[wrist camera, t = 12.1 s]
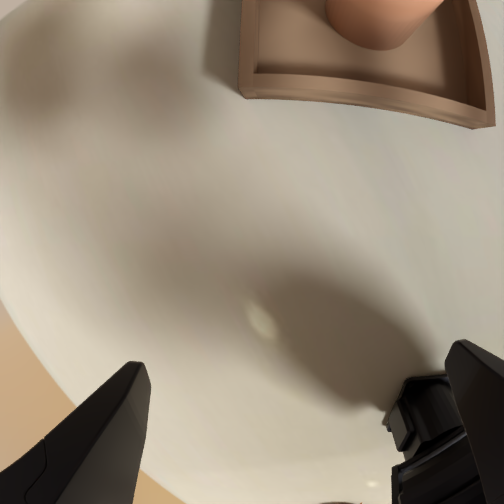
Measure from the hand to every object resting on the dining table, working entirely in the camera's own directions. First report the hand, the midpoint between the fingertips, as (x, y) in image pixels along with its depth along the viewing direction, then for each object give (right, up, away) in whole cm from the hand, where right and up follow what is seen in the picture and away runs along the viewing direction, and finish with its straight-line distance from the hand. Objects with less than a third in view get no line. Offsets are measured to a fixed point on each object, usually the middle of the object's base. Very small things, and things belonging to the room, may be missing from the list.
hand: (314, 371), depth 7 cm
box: (+6, +19, +7) cm, 21 cm away
